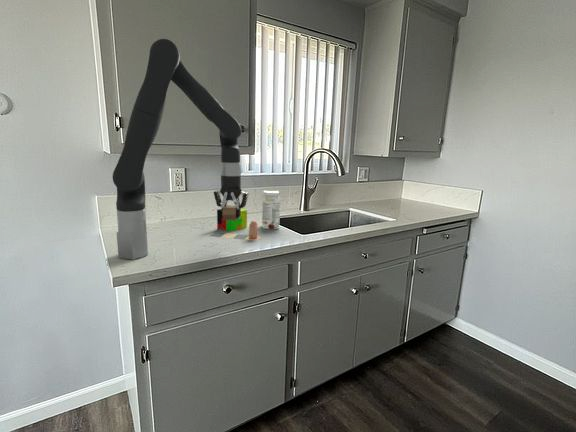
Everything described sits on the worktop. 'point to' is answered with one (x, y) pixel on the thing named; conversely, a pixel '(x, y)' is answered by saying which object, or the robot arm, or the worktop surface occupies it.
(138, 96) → the robot arm
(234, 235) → the track
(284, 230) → the worktop surface
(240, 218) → the puzzle toy
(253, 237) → the pawn
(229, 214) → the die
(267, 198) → the white supplement bottle
